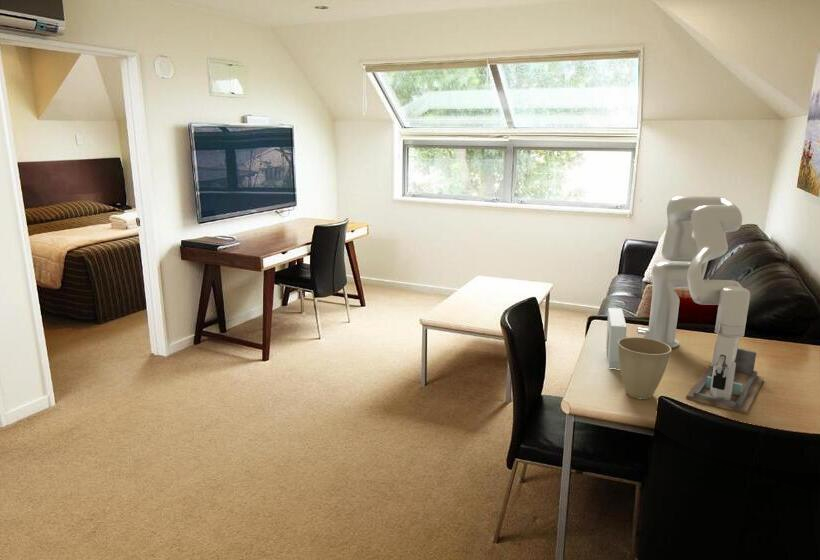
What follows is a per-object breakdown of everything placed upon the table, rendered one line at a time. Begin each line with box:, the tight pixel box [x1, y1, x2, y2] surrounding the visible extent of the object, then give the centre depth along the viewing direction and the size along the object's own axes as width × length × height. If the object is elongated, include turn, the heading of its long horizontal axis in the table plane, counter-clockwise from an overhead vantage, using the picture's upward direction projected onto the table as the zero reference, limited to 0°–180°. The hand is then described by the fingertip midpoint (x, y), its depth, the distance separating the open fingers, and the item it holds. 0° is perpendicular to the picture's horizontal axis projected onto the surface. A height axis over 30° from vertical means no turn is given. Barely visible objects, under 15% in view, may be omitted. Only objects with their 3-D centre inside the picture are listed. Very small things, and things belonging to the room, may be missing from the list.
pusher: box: [706, 376, 742, 396], centre depth 174 cm, size 9×1×4 cm, turn 51°
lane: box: [686, 348, 764, 415], centre depth 178 cm, size 16×30×9 cm, turn 141°
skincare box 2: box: [710, 358, 736, 401], centre depth 170 cm, size 6×4×12 cm
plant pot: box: [618, 336, 673, 400], centre depth 174 cm, size 15×15×16 cm
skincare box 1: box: [605, 307, 627, 369], centre depth 201 cm, size 21×6×16 cm, turn 164°
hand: (721, 383), depth 171 cm, fingers open, 9 cm apart
